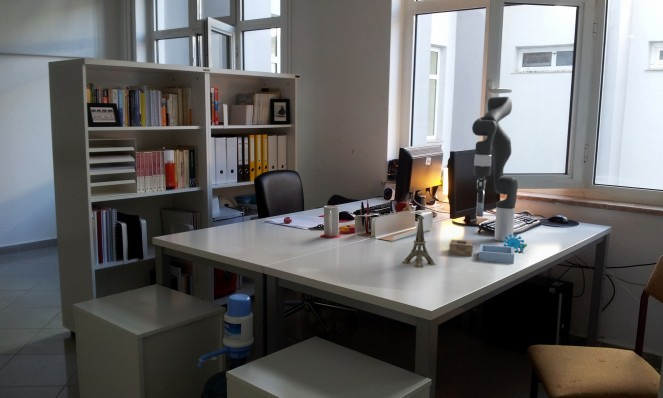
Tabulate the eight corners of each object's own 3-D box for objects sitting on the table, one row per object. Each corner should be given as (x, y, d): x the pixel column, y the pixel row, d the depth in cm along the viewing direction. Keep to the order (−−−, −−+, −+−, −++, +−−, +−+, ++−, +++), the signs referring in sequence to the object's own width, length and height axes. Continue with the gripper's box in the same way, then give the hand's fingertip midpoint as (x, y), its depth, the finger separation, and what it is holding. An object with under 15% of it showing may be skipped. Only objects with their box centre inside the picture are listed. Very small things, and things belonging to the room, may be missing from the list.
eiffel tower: (418, 268, 241) (421, 209, 237) (401, 262, 249) (403, 206, 245) (436, 264, 247) (438, 207, 243) (418, 259, 255) (421, 204, 252)
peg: (476, 215, 264) (477, 189, 263) (483, 215, 263) (484, 190, 262) (475, 216, 262) (477, 190, 260) (482, 216, 261) (484, 190, 259)
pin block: (451, 249, 275) (451, 239, 274) (472, 251, 272) (473, 241, 272) (449, 254, 266) (449, 243, 265) (471, 256, 263) (472, 245, 262)
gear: (501, 248, 273) (505, 231, 278) (500, 254, 278) (504, 238, 283) (525, 253, 269) (528, 236, 275) (523, 260, 274) (527, 243, 279)
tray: (480, 252, 270) (480, 244, 269) (513, 255, 266) (513, 247, 265) (478, 260, 256) (479, 251, 255) (513, 263, 251) (514, 254, 251)
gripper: (475, 163, 267) (473, 199, 269) (472, 165, 254) (470, 203, 256) (491, 163, 264) (489, 200, 267) (490, 166, 251) (488, 204, 254)
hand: (480, 201), depth 261 cm, fingers closed on peg, 3 cm apart
